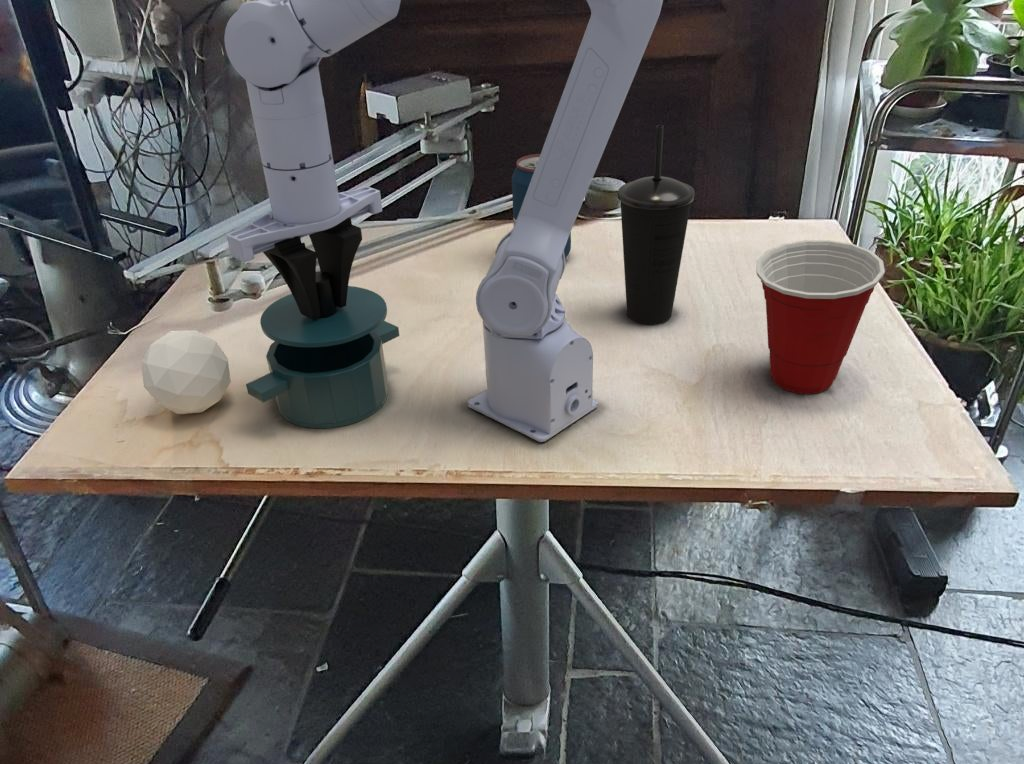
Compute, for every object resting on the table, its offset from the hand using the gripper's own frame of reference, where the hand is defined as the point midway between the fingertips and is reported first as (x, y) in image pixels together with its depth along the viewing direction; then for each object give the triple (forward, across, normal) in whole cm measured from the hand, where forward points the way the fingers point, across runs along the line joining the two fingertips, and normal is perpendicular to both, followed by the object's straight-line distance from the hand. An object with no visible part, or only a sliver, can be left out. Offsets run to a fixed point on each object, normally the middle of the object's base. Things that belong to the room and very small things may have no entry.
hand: (324, 309), depth 81 cm
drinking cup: (+9, -32, +13) cm, 36 cm away
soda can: (+9, -36, -6) cm, 38 cm away
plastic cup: (+9, -30, +32) cm, 45 cm away
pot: (+9, +1, 0) cm, 9 cm away
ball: (+9, +10, -9) cm, 16 cm away
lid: (+1, 0, 0) cm, 1 cm away
